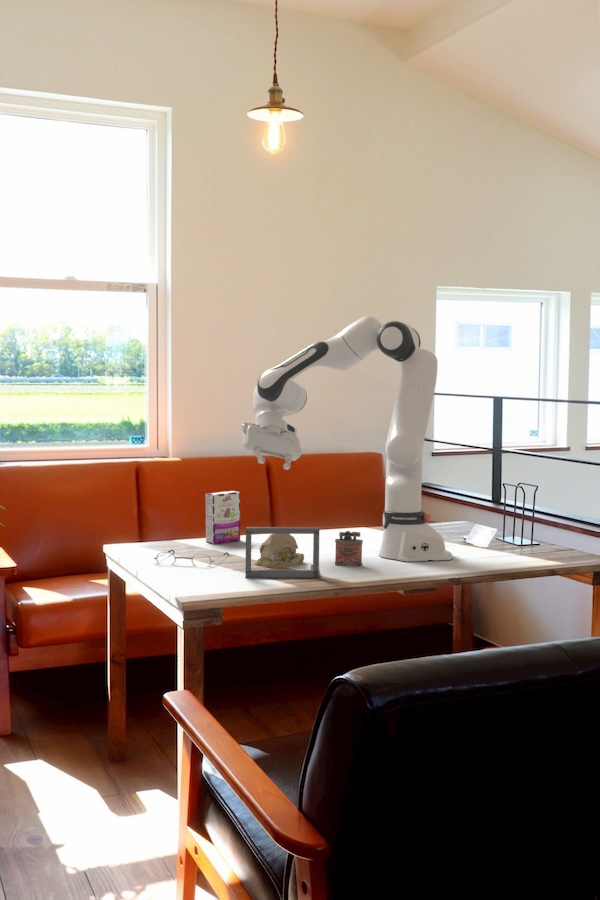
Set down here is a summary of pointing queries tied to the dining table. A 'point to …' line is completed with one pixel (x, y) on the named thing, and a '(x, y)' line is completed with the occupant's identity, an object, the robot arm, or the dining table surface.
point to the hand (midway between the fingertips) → (274, 465)
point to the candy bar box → (222, 517)
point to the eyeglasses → (186, 557)
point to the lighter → (348, 549)
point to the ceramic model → (279, 552)
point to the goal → (283, 573)
